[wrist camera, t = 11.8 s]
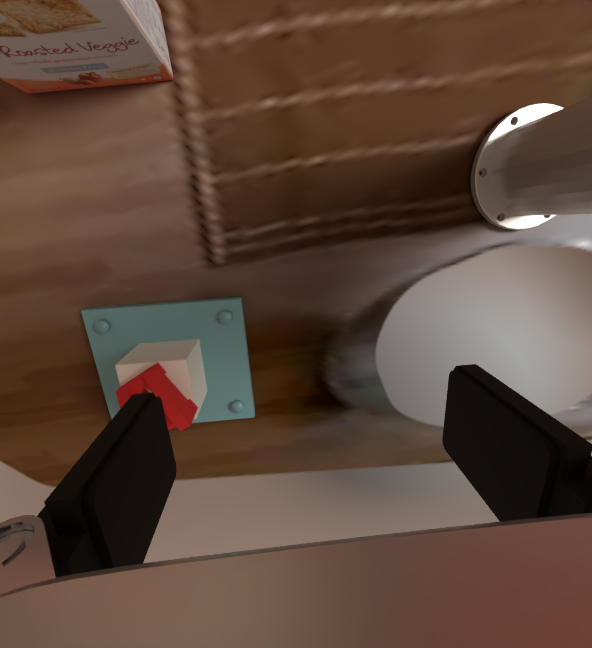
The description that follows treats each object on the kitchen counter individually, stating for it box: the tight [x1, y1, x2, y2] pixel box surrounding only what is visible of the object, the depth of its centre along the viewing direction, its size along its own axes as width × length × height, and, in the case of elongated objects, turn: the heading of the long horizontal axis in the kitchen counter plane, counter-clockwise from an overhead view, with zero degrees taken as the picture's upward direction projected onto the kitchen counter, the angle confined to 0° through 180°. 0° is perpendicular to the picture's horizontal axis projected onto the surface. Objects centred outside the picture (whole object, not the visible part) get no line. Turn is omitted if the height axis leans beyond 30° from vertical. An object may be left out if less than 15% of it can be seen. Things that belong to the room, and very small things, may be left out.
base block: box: [115, 339, 207, 419], centre depth 35 cm, size 7×7×6 cm
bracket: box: [116, 362, 198, 431], centre depth 31 cm, size 6×5×3 cm
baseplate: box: [81, 297, 255, 423], centre depth 38 cm, size 18×16×2 cm
